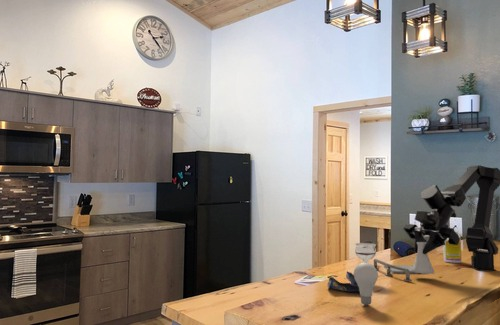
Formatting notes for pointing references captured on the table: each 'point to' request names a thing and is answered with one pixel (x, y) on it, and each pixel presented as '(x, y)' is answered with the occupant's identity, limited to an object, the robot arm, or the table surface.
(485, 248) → the robot arm
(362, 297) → the lightbulb
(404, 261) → the table surface
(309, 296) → the table surface
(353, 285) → the snack package
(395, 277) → the table surface
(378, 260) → the bent rail
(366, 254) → the wineglass
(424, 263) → the flask
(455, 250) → the supplement bottle
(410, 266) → the slate coaster
